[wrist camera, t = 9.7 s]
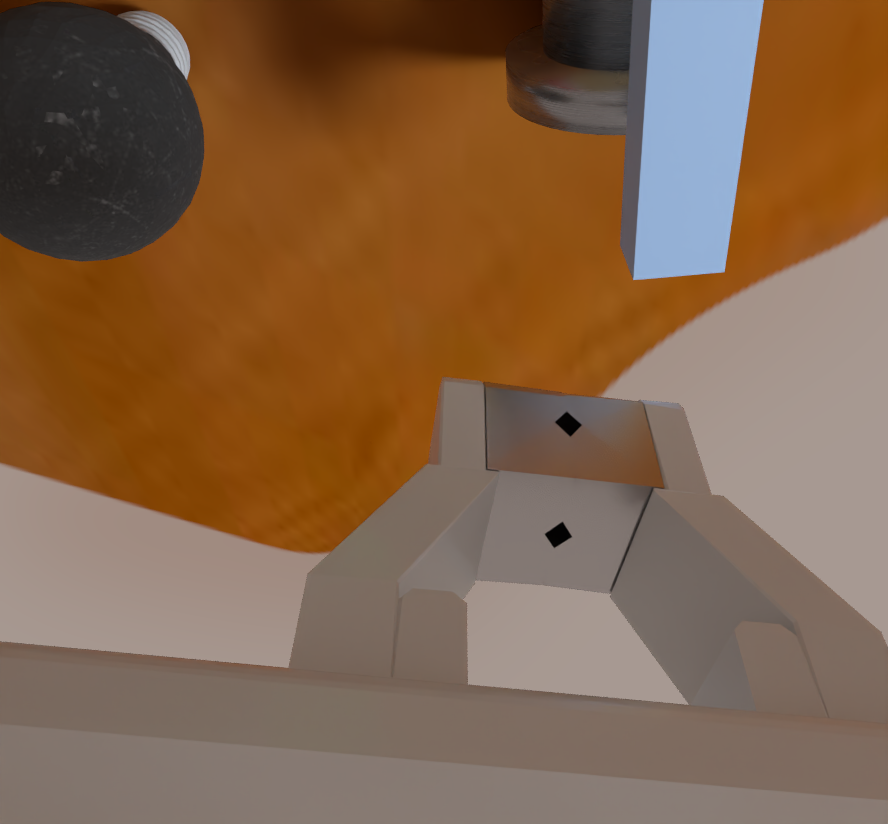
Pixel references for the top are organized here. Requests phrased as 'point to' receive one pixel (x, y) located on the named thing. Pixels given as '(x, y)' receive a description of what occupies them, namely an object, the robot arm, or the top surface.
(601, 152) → the top surface
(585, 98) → the valve
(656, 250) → the lever
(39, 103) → the light bulb
